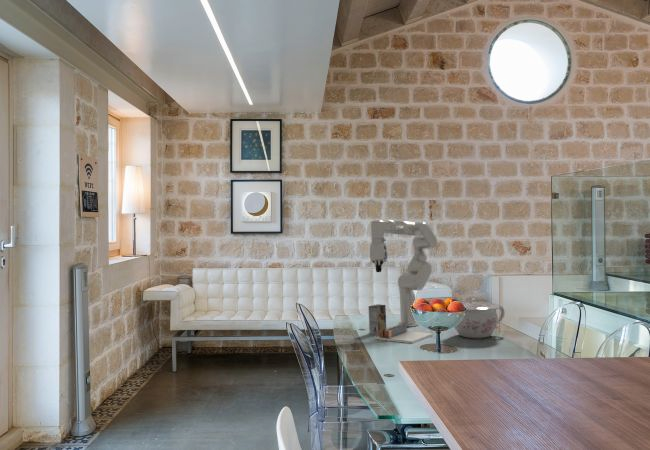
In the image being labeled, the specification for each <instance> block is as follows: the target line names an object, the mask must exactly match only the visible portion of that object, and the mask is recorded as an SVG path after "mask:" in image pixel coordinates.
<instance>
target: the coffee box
mask: <svg viewBox="0 0 650 450" xmlns="http://www.w3.org/2000/svg"><path fill="white" fill-rule="evenodd" d="M386 308H387V307H386V304H373V305H370V306H368V326H369V327H368V329H369V331H368V332H369V334H370V335H377V334H378V335H377V336H379V330H380V329H387V312H386V311H387V309H386Z"/></svg>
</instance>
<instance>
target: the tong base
mask: <svg viewBox="0 0 650 450" xmlns="http://www.w3.org/2000/svg"><path fill="white" fill-rule="evenodd" d="M399 326H400V325H394V326H391V327H386V329H380V330H379V335H378V337H382V338H384V337H385V331H384V330H391V329H394V328H397V327H399ZM403 326H405V332H407V331H408V329H407V328H408V326H407V323H406V322H403Z"/></svg>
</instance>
